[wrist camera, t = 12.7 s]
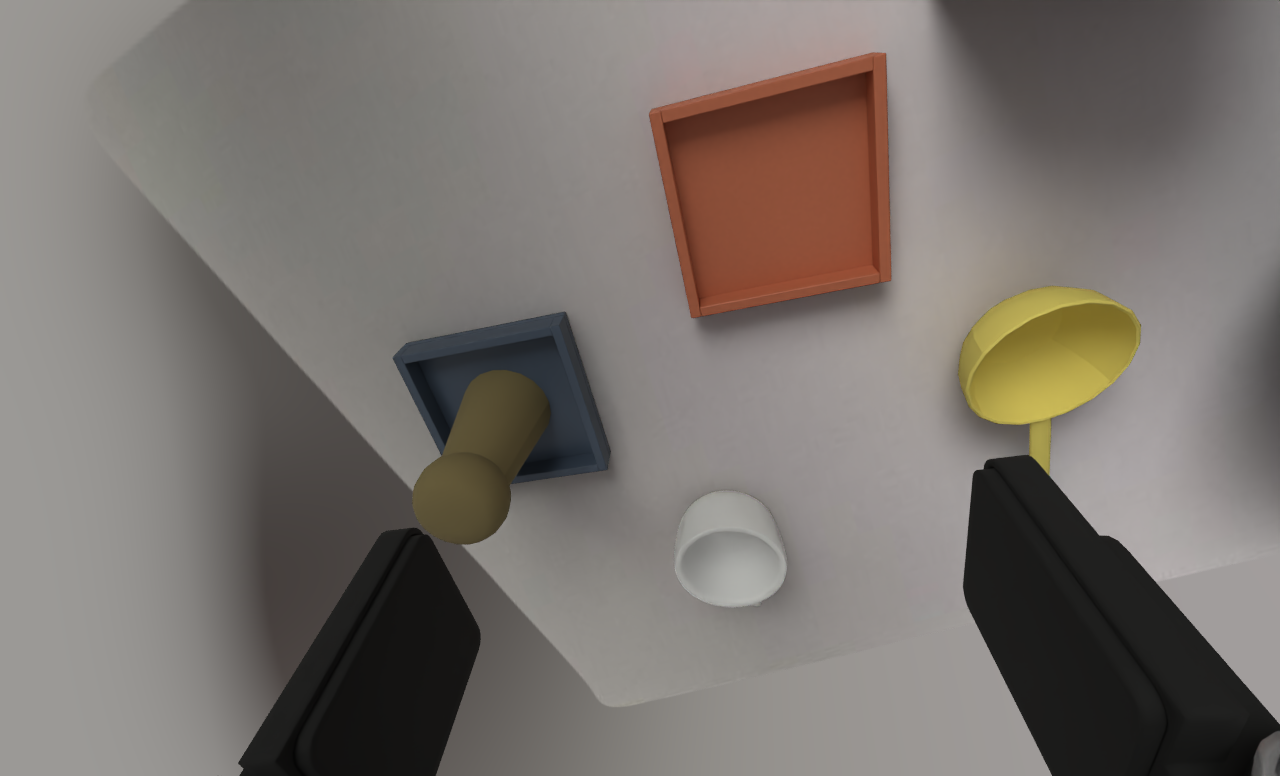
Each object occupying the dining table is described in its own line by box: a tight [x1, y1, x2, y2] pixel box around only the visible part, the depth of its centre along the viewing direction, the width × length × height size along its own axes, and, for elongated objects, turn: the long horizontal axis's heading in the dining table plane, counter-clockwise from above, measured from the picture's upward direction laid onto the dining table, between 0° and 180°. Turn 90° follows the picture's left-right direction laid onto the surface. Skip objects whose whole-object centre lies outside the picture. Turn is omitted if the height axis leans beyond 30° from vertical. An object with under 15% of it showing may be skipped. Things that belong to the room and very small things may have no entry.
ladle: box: [958, 286, 1141, 475], centre depth 38 cm, size 9×26×6 cm, turn 20°
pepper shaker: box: [412, 370, 551, 544], centre depth 35 cm, size 6×6×11 cm
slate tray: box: [393, 312, 611, 484], centre depth 39 cm, size 11×11×2 cm
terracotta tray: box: [649, 53, 891, 318], centre depth 31 cm, size 11×11×2 cm
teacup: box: [674, 490, 787, 607], centre depth 42 cm, size 10×8×5 cm
